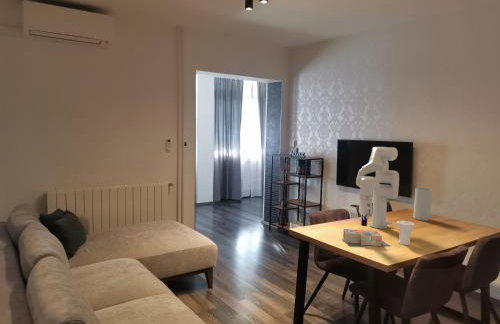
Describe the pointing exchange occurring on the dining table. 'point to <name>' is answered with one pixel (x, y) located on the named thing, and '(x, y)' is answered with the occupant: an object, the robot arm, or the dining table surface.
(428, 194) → the cylinder vase
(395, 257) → the dining table surface
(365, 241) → the stack of blocks
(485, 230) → the dining table surface
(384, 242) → the rubber mat
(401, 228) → the cup
